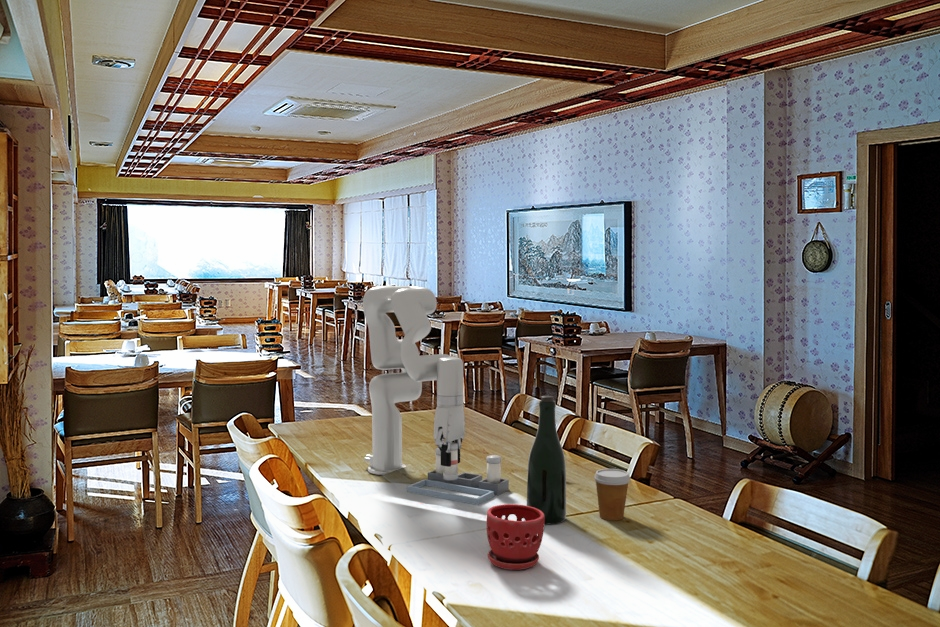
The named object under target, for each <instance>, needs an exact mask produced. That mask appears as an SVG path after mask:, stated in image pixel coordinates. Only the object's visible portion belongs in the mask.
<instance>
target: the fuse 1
mask: <svg viewBox="0 0 940 627" xmlns="http://www.w3.org/2000/svg"><path fill="white" fill-rule="evenodd" d="M434 455H435V470H436V474H441V475H443V473H444V466H441V452H440V451H439V448H438V447H437V448H435V449H434Z"/></svg>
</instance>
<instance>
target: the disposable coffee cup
mask: <svg viewBox="0 0 940 627" xmlns="http://www.w3.org/2000/svg"><path fill="white" fill-rule="evenodd" d="M593 478H594V480H595V481H594V482H595V487H596V495H597V496H596V497H597V503H598V504H597V505H598V513H599V517H600V518H601V519H603V520H606V521H620V520H623V519H624V516H625V508H626V502H627V501H626V500H627V495H628V488H629V487H628V486H629V482H630V481H631V477H630V475H629V472H628V471H627V470H626V471H625V470H623V469H619V468H617V469H616V468H603V469H598V470H596V471H595V474H594V477H593Z"/></svg>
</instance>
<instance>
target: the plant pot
mask: <svg viewBox="0 0 940 627" xmlns="http://www.w3.org/2000/svg"><path fill="white" fill-rule="evenodd" d="M510 515H511V516H512V515H514V516H515V517H516V520H510V519H509V517H510ZM503 516H505V517H504V518H502V517H503ZM523 519H524V520H523ZM544 521H545V516H544V513H543V512H542V511H540V510H539V509H536V508H534V507H530V506H527V505H525V504H515V503H512V504H511V503H508V504H507V503H504V504H497V505H494V506H492V507H489V508H488V510H487V511H486V536H487V542H488V544H489V548H490V550H489V551H488V553H487V558H488V560H489V561H490V563H492V564H493V565H494V566H495V567H498V568H501V569H504V570H509V571H510V570H512V571H520V570H524V569H525V570H526V569H529V568H532V567H533V566H535V565H536V564H538V561H539V560H540V556H539V554H538V551H539V549H540V548H541V544H542V542H543V536H544V532H545V531H544V530H545V524H544Z"/></svg>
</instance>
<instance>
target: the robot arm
mask: <svg viewBox="0 0 940 627" xmlns="http://www.w3.org/2000/svg"><path fill="white" fill-rule="evenodd" d="M362 298H363V299H362V309H363V314H364V317H365V320H366V323H367V327H368V335H369V336H368V337H369V346H370V359H371V364H372V365H373V367H374V368H375V369H376V370H381V371H384V370H386V371H387V370H399V369H400V370H401V372H393V373H391V372H389V373H382V374H378V375H376V376H373V377H372V378H371V380H370V381H369V383H368V384H369V385H368V392H369V398H370V404H371V415H372V416H371V418H372V419H371V420H372V422H371V423H372V426H371V428H372V429H371V430H372V432H371V433H372V434H371V435H372V436H371V437H372V438H371V439H372V441H371V442H372V444H371V445H372V447H371V448H372V454H366V455H365V457H364V459H363V460H364V462H367V463H369V465H368V467H367V471H368V473H369V474H373V475H378V476H379V475H380V476H384V475H387V474H389V473H393V472H396V471H398V470H401V469H404V468H405V467H407V465H405V463H403V441H402V440H403V431H402V429H403V427H402V426H403V420H402V419H403V418H402V414H401V412H400V410H399V409H398V408H397V406H396V404H397V403H405V402H410V401H411V402H412V401H417V399H420V397H421V395H422V390H423V382H430V381H436V407H435V412H434V420H433V440H434V441H435V442H434V445H435V446H436V447H437V448H439V451H440V452H441V466H448V467H450V466H451V452H450V443H451V442H454V443H458V464H460V463H461V449H462V443H463V440H464V439H465V437H466V434H465V432H466V420H465V411H464V410H465V409H464V360H463V359H462V358H459V357H457V356H456V357H455V356H451V355H450V354H445V353H439V354H438V353H437V354H423V355H420V352H419V347H418V346H417V344H416V343H418V342H420V341H421V340H423V339H424V338H426V337H427V336H428V335H430V332H431V330H432V324H431V321H430V320H429V318H428V315H432V314H433V313H434V312H435V311H436V309H437V306H438V304H437V302H438V301H437V297H436V295H435V293H434V292H433V291H432V290H431V289H430V288H428V287H420V286H414V285H413V286H412V285H382V286H373V287H371V288H369V289H367V290H366V292H365V293H364V295H363V297H362ZM387 313H394V315H395V316H396V319H397V321H398V323H399V325H400V327H401V329H402V331H403V334H404V337H402V338H403V339H397V336H396V327H395V324H394V322H393V320H392V319H391V318H390V316H389V315H388V314H387ZM444 443H446V444H447V445H446V446H445V444H444Z"/></svg>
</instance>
